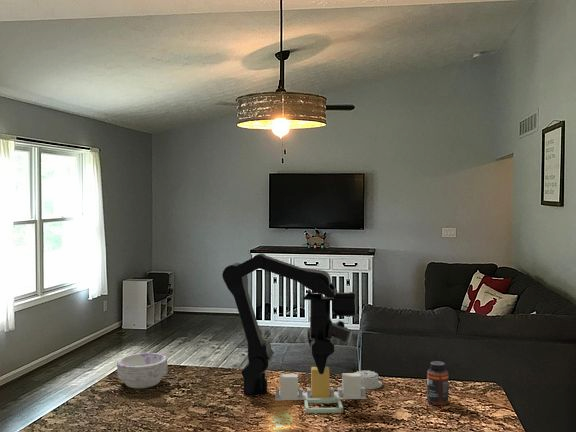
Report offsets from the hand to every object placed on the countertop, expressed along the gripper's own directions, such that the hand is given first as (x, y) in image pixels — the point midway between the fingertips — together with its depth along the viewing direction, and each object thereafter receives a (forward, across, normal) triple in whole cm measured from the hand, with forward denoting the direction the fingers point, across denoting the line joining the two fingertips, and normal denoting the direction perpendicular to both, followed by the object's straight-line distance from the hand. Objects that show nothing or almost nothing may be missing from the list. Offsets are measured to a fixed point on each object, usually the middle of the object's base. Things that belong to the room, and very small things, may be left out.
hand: (319, 369), depth 169 cm
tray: (+9, -9, 0) cm, 13 cm away
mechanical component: (+9, +10, -15) cm, 20 cm away
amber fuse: (+8, 0, 0) cm, 8 cm away
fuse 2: (+8, 0, -9) cm, 12 cm away
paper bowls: (+9, +16, +54) cm, 57 cm away
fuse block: (+9, 0, 0) cm, 9 cm away
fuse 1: (+8, 0, +9) cm, 12 cm away
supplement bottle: (+9, -4, -33) cm, 35 cm away
